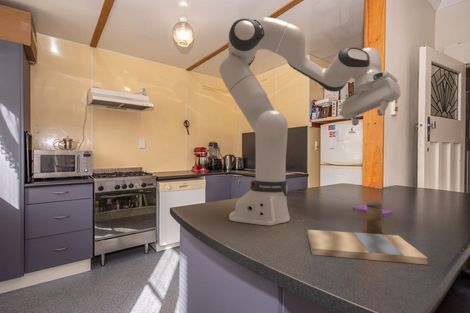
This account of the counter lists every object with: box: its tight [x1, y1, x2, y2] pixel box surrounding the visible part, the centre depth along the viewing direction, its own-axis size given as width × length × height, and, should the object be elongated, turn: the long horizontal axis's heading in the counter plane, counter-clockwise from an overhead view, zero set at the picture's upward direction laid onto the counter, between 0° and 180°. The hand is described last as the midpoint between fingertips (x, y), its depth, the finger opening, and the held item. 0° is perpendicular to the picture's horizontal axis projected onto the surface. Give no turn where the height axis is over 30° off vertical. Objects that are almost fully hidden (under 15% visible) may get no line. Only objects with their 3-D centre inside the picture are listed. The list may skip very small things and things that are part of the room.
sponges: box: [352, 204, 393, 218], centre depth 96 cm, size 7×13×2 cm, turn 32°
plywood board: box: [307, 229, 429, 265], centre depth 61 cm, size 24×14×2 cm, turn 77°
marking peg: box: [366, 201, 383, 235], centre depth 71 cm, size 4×4×9 cm
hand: (367, 119), depth 81 cm, fingers open, 8 cm apart
